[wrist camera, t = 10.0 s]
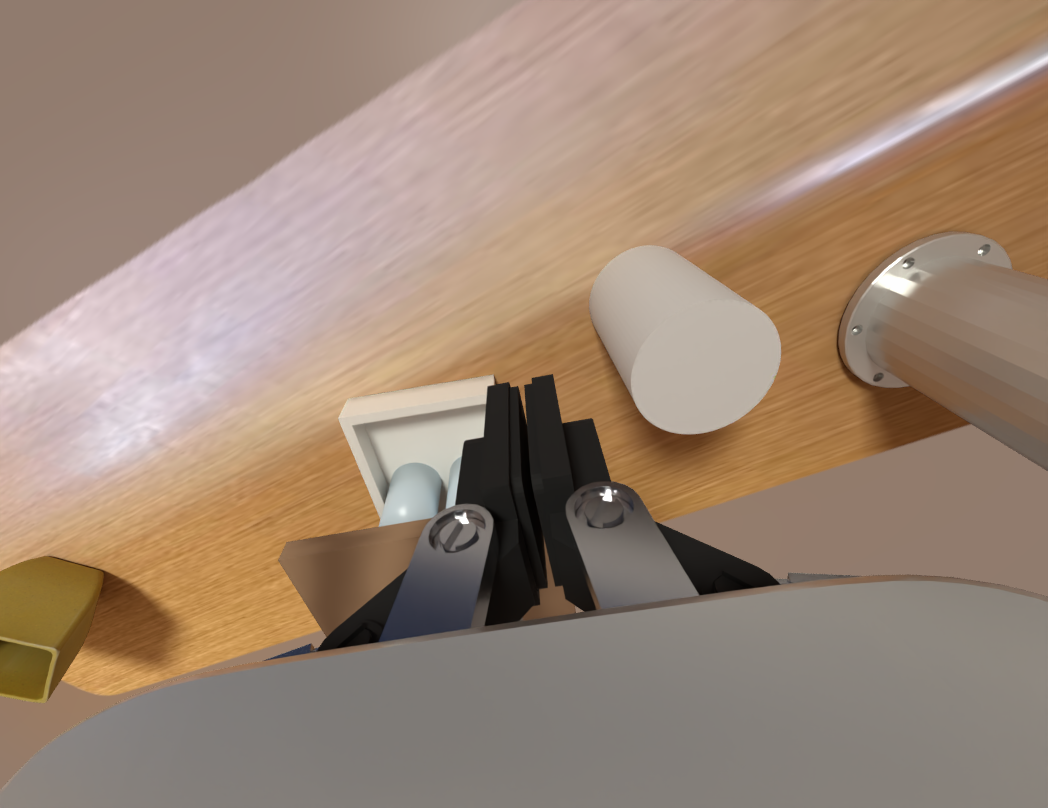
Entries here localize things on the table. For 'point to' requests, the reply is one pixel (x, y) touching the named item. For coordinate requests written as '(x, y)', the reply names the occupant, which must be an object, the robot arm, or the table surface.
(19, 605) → the flower pot
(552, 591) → the counter
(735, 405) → the white cylinder
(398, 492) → the blue-grey rounded cylinder
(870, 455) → the table surface
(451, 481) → the grey rounded cylinder
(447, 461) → the tray
